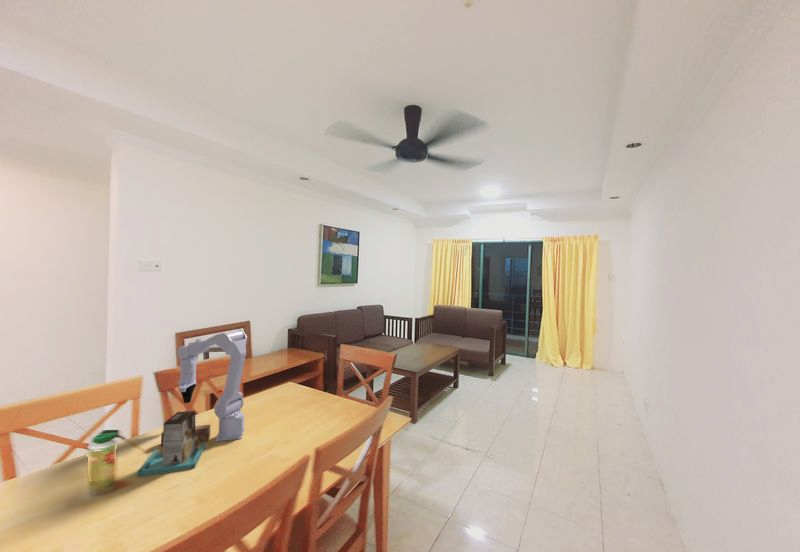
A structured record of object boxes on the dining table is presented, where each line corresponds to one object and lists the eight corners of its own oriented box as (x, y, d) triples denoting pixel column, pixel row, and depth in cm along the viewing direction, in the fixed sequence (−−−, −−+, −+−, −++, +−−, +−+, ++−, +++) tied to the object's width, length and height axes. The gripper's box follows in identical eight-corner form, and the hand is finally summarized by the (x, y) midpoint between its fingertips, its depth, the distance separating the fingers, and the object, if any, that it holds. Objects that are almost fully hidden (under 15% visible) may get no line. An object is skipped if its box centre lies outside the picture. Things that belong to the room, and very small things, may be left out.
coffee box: (176, 453, 115) (177, 411, 115) (195, 452, 116) (196, 410, 116) (161, 468, 106) (163, 422, 106) (182, 467, 107) (183, 422, 107)
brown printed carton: (210, 436, 127) (210, 424, 127) (203, 449, 118) (203, 436, 118) (164, 442, 122) (164, 429, 122) (153, 456, 113) (153, 443, 113)
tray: (205, 448, 120) (205, 443, 120) (194, 468, 107) (194, 463, 107) (154, 454, 115) (154, 450, 114) (137, 477, 102) (137, 472, 102)
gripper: (183, 367, 141) (182, 396, 141) (171, 378, 127) (170, 410, 128) (200, 366, 143) (200, 395, 144) (190, 376, 130) (190, 408, 130)
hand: (187, 402), depth 136 cm, fingers closed
